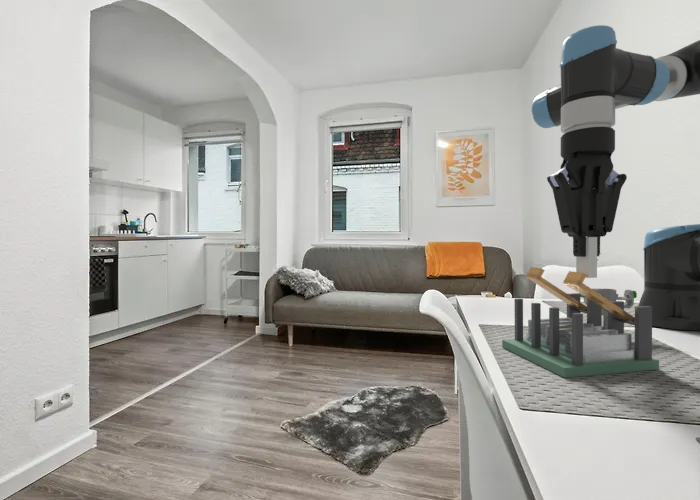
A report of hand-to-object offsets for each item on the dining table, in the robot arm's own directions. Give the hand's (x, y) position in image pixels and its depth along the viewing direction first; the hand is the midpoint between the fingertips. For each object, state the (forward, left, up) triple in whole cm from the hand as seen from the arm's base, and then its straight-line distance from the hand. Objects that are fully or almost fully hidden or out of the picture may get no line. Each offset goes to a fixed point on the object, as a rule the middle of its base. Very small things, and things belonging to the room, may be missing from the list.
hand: (586, 276), depth 63 cm
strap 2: (-3, 0, -5) cm, 5 cm away
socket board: (-2, -5, -15) cm, 16 cm away
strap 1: (-3, -10, -5) cm, 11 cm away
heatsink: (-2, -5, -13) cm, 14 cm away
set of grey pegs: (-2, -5, -13) cm, 14 cm away
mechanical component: (-19, -16, -15) cm, 29 cm away
